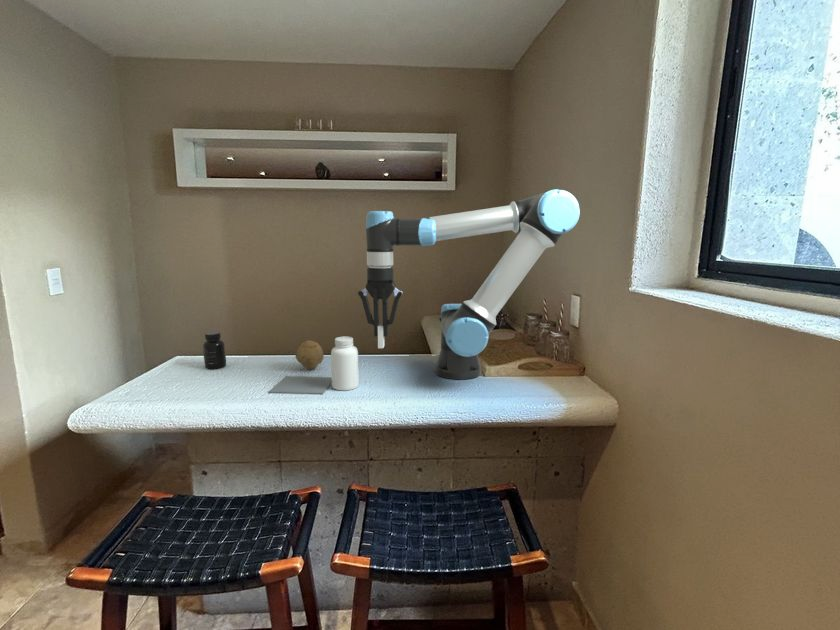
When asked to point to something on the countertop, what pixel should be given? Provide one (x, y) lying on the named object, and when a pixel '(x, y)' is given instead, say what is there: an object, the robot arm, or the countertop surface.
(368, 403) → the countertop surface
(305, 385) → the mat
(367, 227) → the robot arm
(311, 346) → the natural sponge
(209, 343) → the supplement bottle
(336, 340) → the pill bottle
